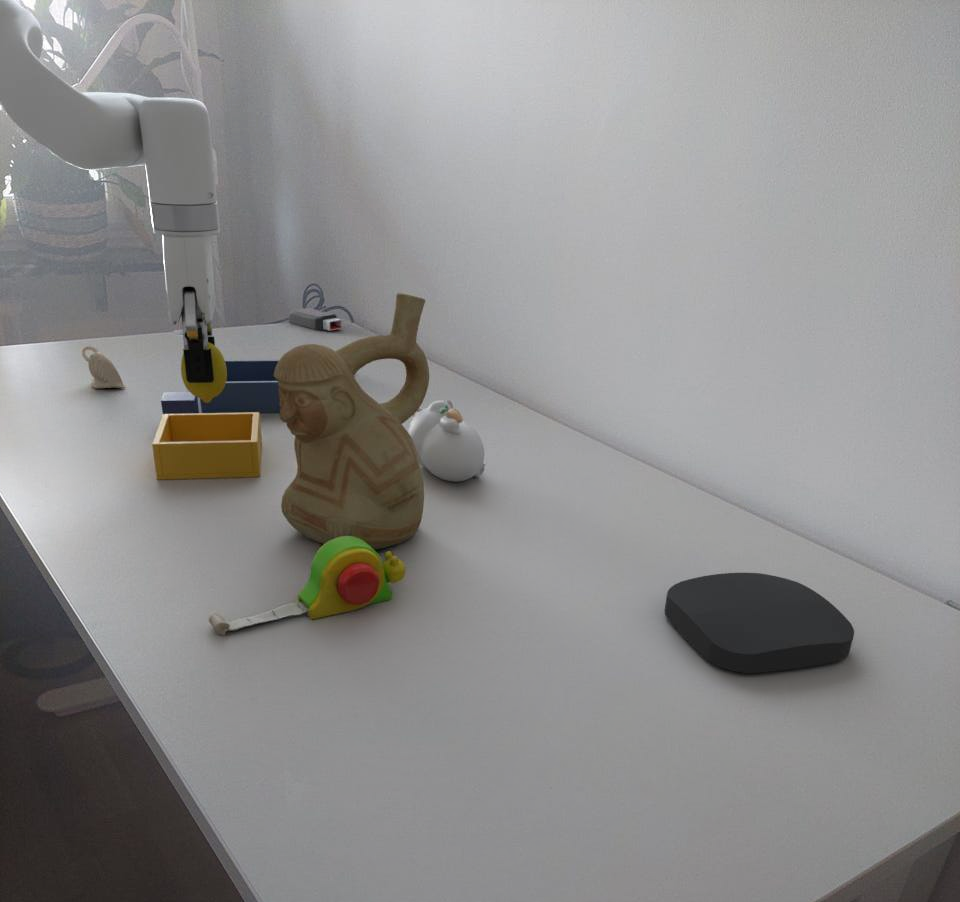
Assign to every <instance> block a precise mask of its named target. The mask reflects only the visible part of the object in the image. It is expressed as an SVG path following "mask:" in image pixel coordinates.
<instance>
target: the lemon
mask: <svg viewBox="0 0 960 902" xmlns="http://www.w3.org/2000/svg"><path fill="white" fill-rule="evenodd" d="M209 348H211V355H212V364H213V374H214V381H213V382H211V383H189V382H188V381H187V378H186V369H185V361H184V352H182V356H181V361H180V374H181V379H182V382H183V385H184V386H185V389H186V390H187V391H188V392H190V393H192V394H193V395H194V396H196V397H197V398H199V399H200V398H201V399H202V400H203V401H204V402H205V403H209V402H210V401H211V400H212V399H213V398H214V397H215V396H217V395H219V394H220V393H221V392H222V391H223V389H224V387H225V384H226V380H227V369H226V364H225V360H226V359H225V358H224V355H223V354H222V352H221V350H220V349H219V348H218V347H217V346H216V344H215V345H213V344H211V343H209V342H208V349H209Z"/></svg>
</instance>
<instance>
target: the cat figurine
mask: <svg viewBox="0 0 960 902" xmlns="http://www.w3.org/2000/svg"><path fill="white" fill-rule="evenodd" d="M412 417H413V418H412V420H411V421H410V424H409V426H408V430H407V432H408V433H409V435H410V436H411V438H412V440H413V442H414V445H415V447H416V450H417V453H418V457H419V461H420V465H421V466H423V467H425V468H426V469H427V470H428V472H430V473H431V474H432V475H434V476H436V477H437V478H439V479H441V480H443V481H448V482H454V483H455V482H457V483H458V482H464V481H467V480H469V479H471V478H479V476H481V475H482V474H483V473H484V472H485V469H486V468H485V466H486V464H485V463H484V461H485V446H484V444H483V440H482V438H481V436H480V435H479V433H478V431H477V430H476V428H474V426H472V425H470V424H469V423H467V422H466V421H464V419H463V416H462V414H461V412H460V411H459V410H458V409H457V408H454V404H453V403H452V401H451V400H450V399H448V400H447V401H445V400H443V399H441V400H434V401H433V402H431V403H430V404H429V406H428V407H421V406H420V407H419V409H418V410H417V411H416V413H414V414H413V415H412Z"/></svg>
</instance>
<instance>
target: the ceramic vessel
mask: <svg viewBox="0 0 960 902" xmlns="http://www.w3.org/2000/svg"><path fill="white" fill-rule="evenodd" d="M425 304H426V299H424V298H423V297H419V296H414V295H410V294H405V293H401V292H400V293H396V296H395V306H394V307H395V308H394V314H393V320H392V326H391V331H390V333H389V334H378V335H370V336H367V337H363V338H359V339H356V340H354V341H351V342H350V343H348V344H346V345H344V346H342V347H340V348H339V349H337V350H333V348H331V347H328V346H326V345H324V344H319V343H306V344H301V345H298V346H295V347H293V348H291V349H289V350H288V351H286V353H284V354H283V355H282V356H281V357H280V358H279V359H278V360H279V361H278V363H277V365H276V367H275V371H274V377H275V378H276V379H277V380H278V385H279V397H280V408H281V410H280V412H278V414H279V418H280V420H281V422H283V423H286V424H285V425H286V427H287V429H288V430H289V431H290V433H291V435H292V436H294V440H293V443H294V453H295V460H296V464H297V472H296V474H295V477H294V479H292V481H291V482H290V484H289V485H288V486H287V488H286V489H285V490H284V493H283V495H282V497H281V505H280V508H281V513H282V515H283V516H284V518H285V520H287V522H288V524H289V525H290V526H292V528H294V529H295V530H296V531H297V532H299V534H302V535H303V536H304V537H307V538H309V539H311V540H313V541H315V542H317V543H319V544H322V545H324V544H325V543H327V542H328V541H330V540H332V539H335V538H337V537H342V536H353V537H357V538H359V539H361V540H363V541H365V542H366V543H367V544H368V545H369V546H370V547H371V548H372V549H373V550H374V551H376V550H381V549H385V548H389V547H393V546H396V545H398V544H401V543H403V542H406V541H408V540H409V539H411V538H412V537H413V536H414V535H415V534H416V533H417V532H418V530H419V528H420V525H421V522H422V519H423V514H424V503H425V486H424V478H423V471H422V467H421V466H422V465H421V464H420V461H419V457H418V453H417V450H416V447H415V445H414V442H413V440H412V438H411V436H410V435H409V433H408V430H407V429H406V428H405V427H404V425H403V424H404V423H405V422H407V421H408V420H409V419H410V418H411V417H413V414H414V413H416V411H417V410H418V409H419V407H420V408H421V405H422V404H423V402H424V401H425V397H426V395H427V392H428V387H429V384H430V383H429V382H430V368H429V363H428V359H427V356H426V355H425V352H424V350H423V349H422V348H421V346H420V345H419V344H418V343H417V337H418V330H419V326H420V321H421V318H422V313H423V311H424V307H425ZM389 359H390V360H397V361H400V362H401V363H403V365H404V367H405V373H406V375H405V380H404V384H403V385H402V387H401V389H400V390H399V392H398V393H397V394H396V395H395V396H393V397H392V398H391V399H389V400H388V401H385V402H381V403H379V402H378V401H377V400H375V399H374V398H373V397H372V396H370V395H369V394H368V393H367V392H366V391H365V390H364V389H363V388H362V387H361V386H360V385H359V383H358V381H357V380H356V378H355V377H356V376H355V375H356V373H357V372H358V371H360V369H362V368H363V367H365V366H366V365H368V364H370V363H373V362H375V361H380V360H389Z"/></svg>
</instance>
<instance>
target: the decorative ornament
mask: <svg viewBox="0 0 960 902" xmlns="http://www.w3.org/2000/svg"><path fill="white" fill-rule="evenodd" d="M87 351H92V352H94V353H92V354H90V356H88V355H87V354H86V352H87ZM81 355H82V357H83V359H84V360H85V361H86V362H88V370H89V373H90V375H91V377H93V379H91V383H90V384H91V387H92V388H94V389H96V390H97V389H106V388H107V389H111V388H119V389H121V388H122V389H126V386H125V385H124V382H123V380H122V377H121V375H120V373H119V371H118V370H117V368H116V366H115V365H114V363H113V362H112V360H111V359H110V358H109V357H108V356H107V355H105V354H103V353H102V352H99V350H97V349H96V348H95V347H93V346H85V347H83V348H82V350H81Z"/></svg>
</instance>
